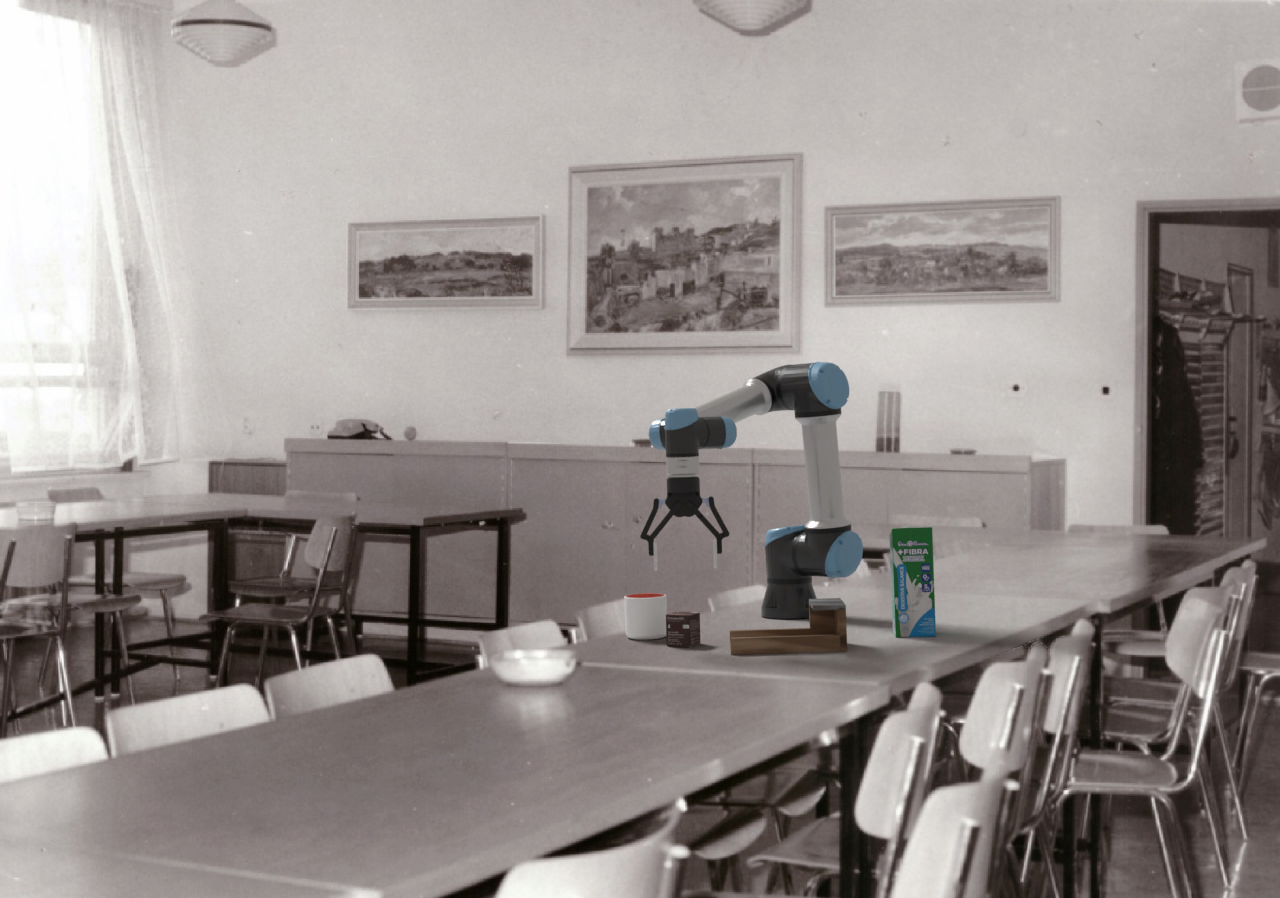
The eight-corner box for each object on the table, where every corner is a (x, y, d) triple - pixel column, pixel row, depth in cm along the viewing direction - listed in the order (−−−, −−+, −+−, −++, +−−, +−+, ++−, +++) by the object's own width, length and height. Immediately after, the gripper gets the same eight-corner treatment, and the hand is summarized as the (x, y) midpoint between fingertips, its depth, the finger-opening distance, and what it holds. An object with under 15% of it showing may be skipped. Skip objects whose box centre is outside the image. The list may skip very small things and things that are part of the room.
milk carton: (931, 631, 336) (928, 524, 336) (936, 636, 328) (932, 526, 327) (892, 631, 337) (889, 525, 337) (895, 637, 328) (891, 527, 328)
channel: (730, 645, 325) (728, 601, 325) (841, 642, 324) (840, 597, 324) (731, 654, 312) (729, 608, 312) (847, 651, 311) (845, 604, 311)
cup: (663, 640, 337) (662, 597, 337) (621, 640, 339) (620, 598, 339) (671, 634, 347) (669, 592, 347) (630, 634, 349) (629, 593, 349)
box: (665, 646, 328) (664, 614, 328) (677, 642, 333) (676, 611, 333) (690, 647, 325) (688, 615, 325) (701, 643, 330) (700, 611, 330)
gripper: (627, 478, 325) (630, 572, 325) (738, 474, 324) (741, 569, 324) (628, 477, 332) (631, 569, 333) (737, 473, 332) (740, 566, 332)
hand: (685, 569), depth 328 cm, fingers open, 13 cm apart
